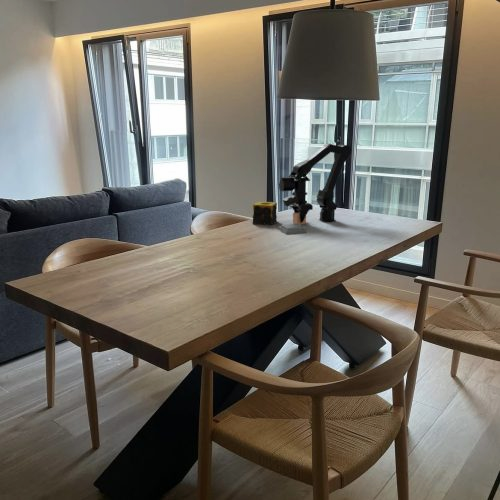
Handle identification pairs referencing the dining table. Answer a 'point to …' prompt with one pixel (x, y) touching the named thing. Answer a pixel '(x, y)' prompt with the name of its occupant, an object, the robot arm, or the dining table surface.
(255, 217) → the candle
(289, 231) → the base
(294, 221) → the block
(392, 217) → the dining table surface
